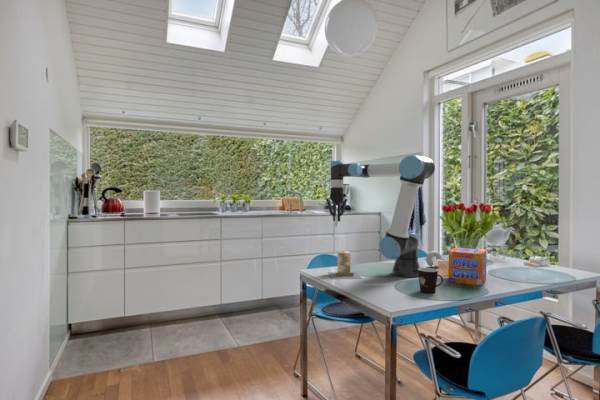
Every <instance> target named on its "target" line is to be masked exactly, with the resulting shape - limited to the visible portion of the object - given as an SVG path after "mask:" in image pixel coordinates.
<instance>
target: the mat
mask: <svg viewBox="0 0 600 400" xmlns="http://www.w3.org/2000/svg"><path fill="white" fill-rule="evenodd" d="M327 273H328V276H329V278H330V280H363V278H362V276H361V275H360V274H359V273H358V272H357V271H355V272H353V271H352V272H351V271H350V272H338V271H337V272H334V271H333V272H330V271H328V272H327Z"/></svg>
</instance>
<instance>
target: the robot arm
mask: <svg viewBox="0 0 600 400" xmlns="http://www.w3.org/2000/svg"><path fill="white" fill-rule="evenodd" d="M435 170H436V166H435V162H434V161H433V159H431V158H430V157H428V156H422V155H418V154H410V155H407V156H405V157H404V158H402V159H401V161H400V162H389V163H372V164H371V163H369V164H360V163H358V162H351V163H344V160H332V161H331V162H330V184H329V185H330V195H329V197H327V198H325V201H326V202H327V205H328V211H329V215H330V216H333V218H332V221H333V222H334V228H338V227H339V222H341V216H343V215H344V213H345V208H346V205H347V202H348V200H349V198H346V197H345V195H344V178H345V177H346V178H348V177H349V178H350V177H353V178H363V179H364V178H365V179H366V178H367V179H368V178H377V177H378V178H384V177H386V178H387V177H390V178H391V177H393V178H394V177H399V181H400V183H401V185H400V190H399V192H398V193H399V194H398V196H397V201H396V204H395V209H394V213H393V216H392V220H391V224H390V227H389V228H388V229H386V232H385V235H384V237H382V238H381V239H380V240H379V244H378V249H379V252H380V255H382V256H383V257H384V258H385V259H388V260H394V263H393V266H392V270H391V272H392V273H391V274H392V275H393V276H397V277H403V278H417V277H418V278H419V275H418V269H419V268H421V266H420V264H419V261H418V260H419V259H418V258H419V257H418V256H419V237H418V236H419V235H418V234H417V233H415V232H408V230H409V226H410V222H411V219H412V214H413V212H414V207H415V204H416V201H417V197H418V193H419V189H420V187H423V185H424V183H425V180H426V179H429V178H430V177H432V176H433V174H435ZM341 202H342V206H341ZM332 206H333V207H332ZM339 228H340V227H339Z"/></svg>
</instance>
